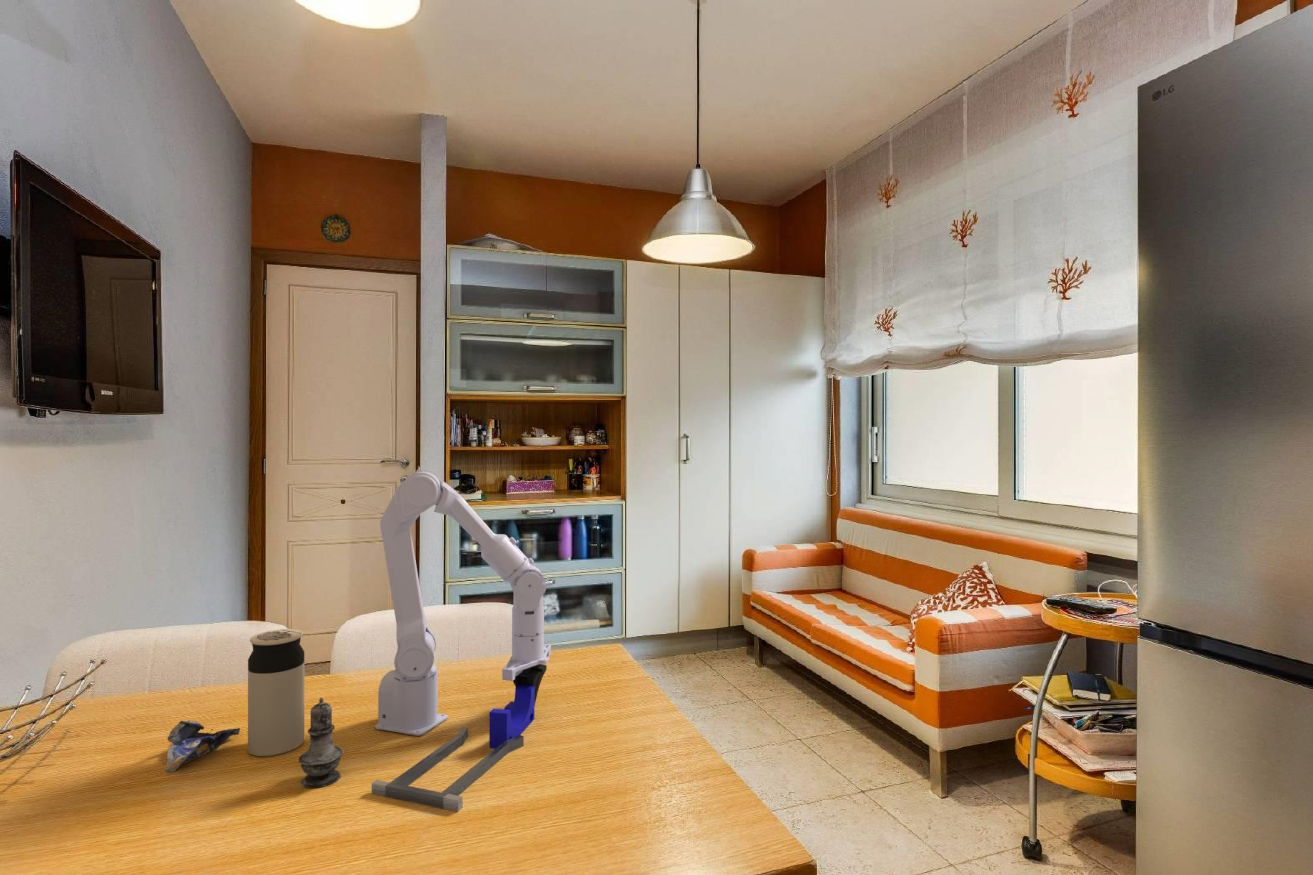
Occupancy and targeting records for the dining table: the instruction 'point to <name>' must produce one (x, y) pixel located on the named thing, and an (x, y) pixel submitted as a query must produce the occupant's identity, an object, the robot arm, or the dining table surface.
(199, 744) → the snack package
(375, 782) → the rail
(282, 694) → the travel mug
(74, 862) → the dining table surface
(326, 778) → the salt shaker
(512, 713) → the blue cradle block
